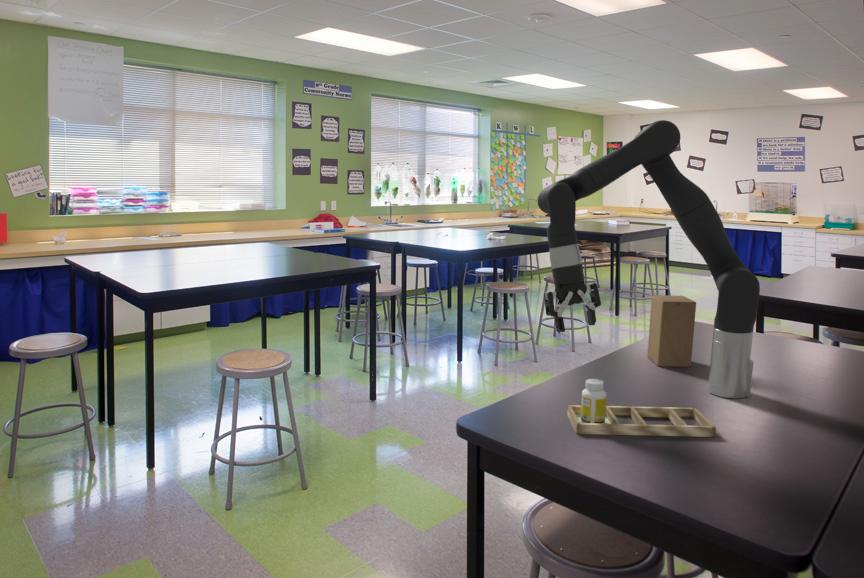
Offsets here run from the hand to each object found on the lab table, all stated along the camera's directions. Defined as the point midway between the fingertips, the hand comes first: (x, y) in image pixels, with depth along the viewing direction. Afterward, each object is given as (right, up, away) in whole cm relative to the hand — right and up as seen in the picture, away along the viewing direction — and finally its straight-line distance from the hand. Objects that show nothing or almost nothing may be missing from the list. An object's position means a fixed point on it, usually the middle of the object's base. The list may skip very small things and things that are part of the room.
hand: (576, 328), depth 153 cm
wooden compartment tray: (+11, -21, -13) cm, 27 cm away
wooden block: (+36, -13, +35) cm, 52 cm away
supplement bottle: (+1, -21, -13) cm, 24 cm away
